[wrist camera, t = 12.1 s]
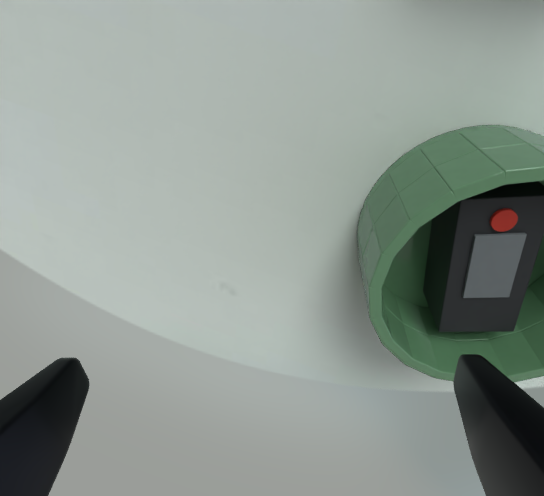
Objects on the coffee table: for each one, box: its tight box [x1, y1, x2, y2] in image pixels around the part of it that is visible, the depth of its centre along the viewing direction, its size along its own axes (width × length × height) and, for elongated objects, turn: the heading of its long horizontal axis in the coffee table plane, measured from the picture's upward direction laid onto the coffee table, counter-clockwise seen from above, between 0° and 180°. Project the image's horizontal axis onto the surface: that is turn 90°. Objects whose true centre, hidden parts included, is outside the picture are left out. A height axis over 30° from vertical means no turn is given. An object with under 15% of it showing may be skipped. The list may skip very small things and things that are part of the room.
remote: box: [423, 181, 544, 332], centre depth 16 cm, size 7×3×3 cm, turn 6°
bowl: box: [357, 125, 544, 382], centre depth 16 cm, size 10×10×5 cm
